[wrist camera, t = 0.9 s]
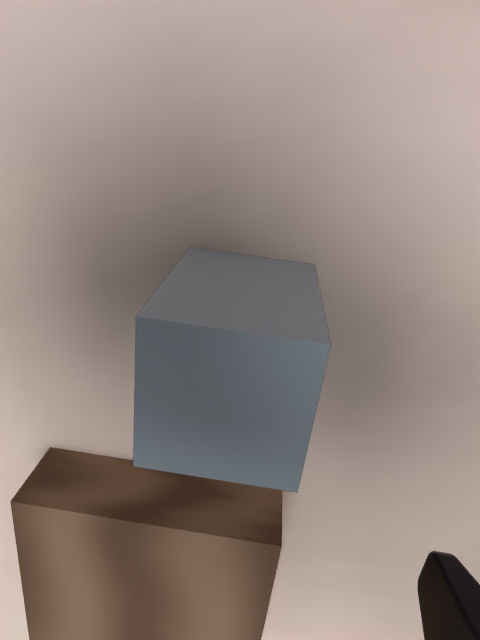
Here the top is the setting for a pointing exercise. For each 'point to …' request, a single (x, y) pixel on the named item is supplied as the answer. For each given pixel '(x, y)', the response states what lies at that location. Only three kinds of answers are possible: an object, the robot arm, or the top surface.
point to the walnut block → (143, 552)
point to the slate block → (230, 369)
